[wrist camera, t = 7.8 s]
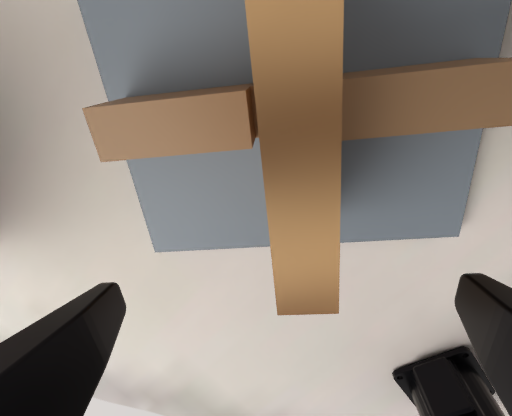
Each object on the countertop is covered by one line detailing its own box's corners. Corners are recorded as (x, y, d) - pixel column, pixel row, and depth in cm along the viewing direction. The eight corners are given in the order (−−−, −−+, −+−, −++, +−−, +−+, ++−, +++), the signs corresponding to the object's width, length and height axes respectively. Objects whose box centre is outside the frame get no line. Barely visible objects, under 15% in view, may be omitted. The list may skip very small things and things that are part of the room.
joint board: (531, -165, 12) (684, -301, 7) (450, 228, 20) (501, 278, 15) (64, -79, 14) (-36, -143, 10) (160, 244, 22) (129, 292, 17)
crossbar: (316, 217, 19) (338, 313, 12) (278, 219, 19) (277, 315, 12) (309, -72, 13) (347, -237, 6) (253, -63, 13) (222, -209, 6)
